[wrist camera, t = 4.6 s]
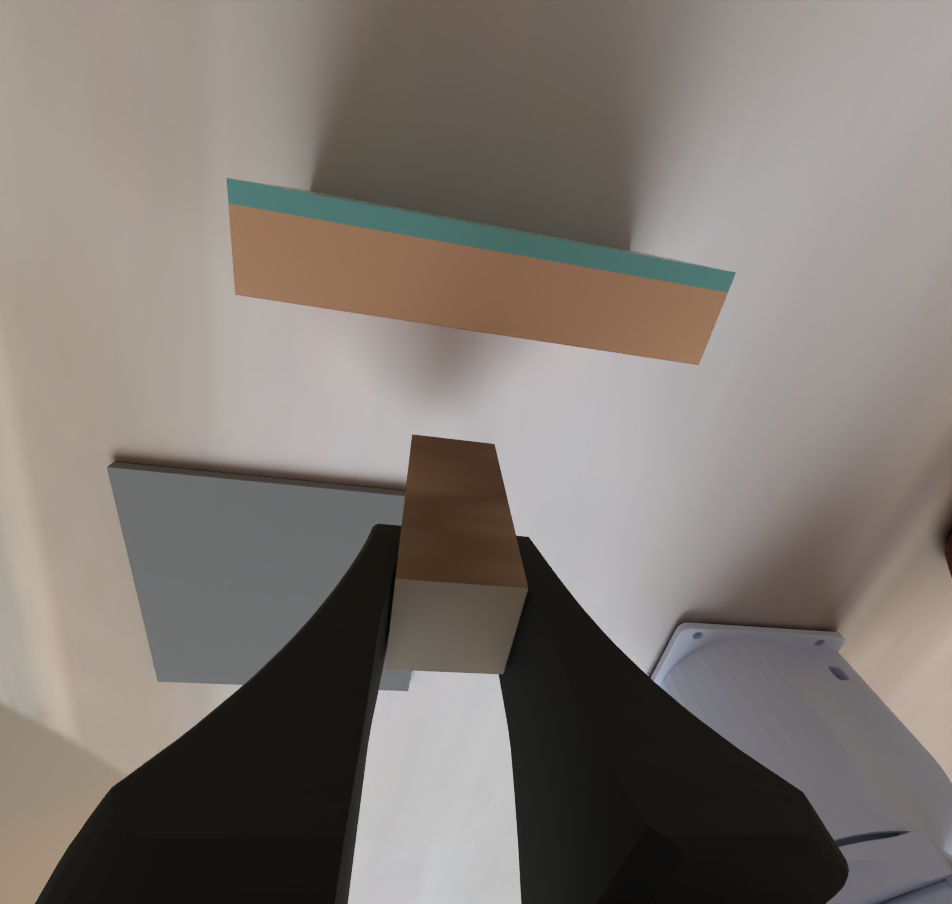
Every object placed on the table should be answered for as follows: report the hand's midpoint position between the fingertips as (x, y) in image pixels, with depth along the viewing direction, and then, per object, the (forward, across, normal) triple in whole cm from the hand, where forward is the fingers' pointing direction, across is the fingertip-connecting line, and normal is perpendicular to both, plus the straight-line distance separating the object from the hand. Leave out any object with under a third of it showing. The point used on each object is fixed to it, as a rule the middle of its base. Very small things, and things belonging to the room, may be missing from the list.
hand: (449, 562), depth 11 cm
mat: (+7, +6, +8) cm, 12 cm away
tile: (+7, 0, -6) cm, 10 cm away
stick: (+4, 0, 0) cm, 4 cm away
